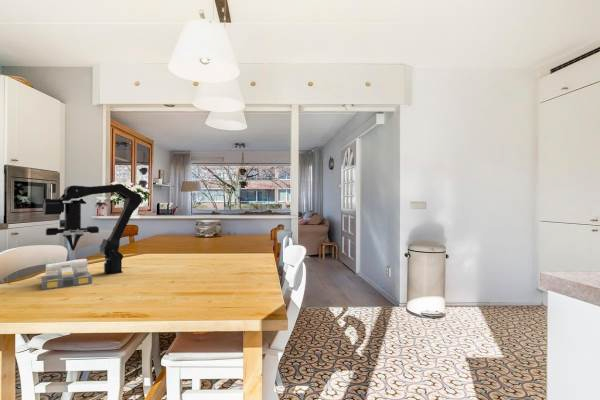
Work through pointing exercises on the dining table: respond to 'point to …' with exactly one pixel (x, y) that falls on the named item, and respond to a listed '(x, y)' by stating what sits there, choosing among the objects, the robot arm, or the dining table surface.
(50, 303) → the dining table surface
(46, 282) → the pill organizer box
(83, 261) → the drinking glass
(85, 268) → the switch
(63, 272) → the switch
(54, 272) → the switch
